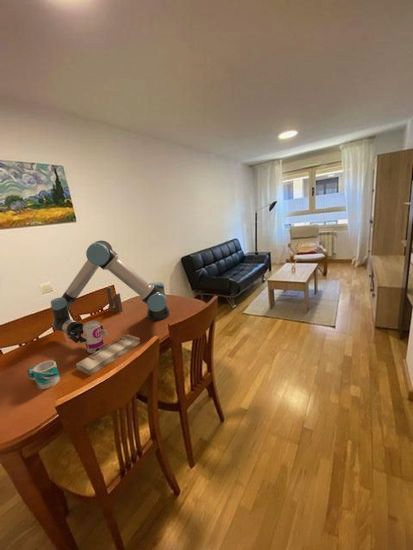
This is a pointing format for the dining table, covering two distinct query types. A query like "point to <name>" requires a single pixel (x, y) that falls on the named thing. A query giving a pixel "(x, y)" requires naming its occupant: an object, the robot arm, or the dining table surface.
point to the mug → (44, 374)
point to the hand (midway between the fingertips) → (98, 337)
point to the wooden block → (114, 301)
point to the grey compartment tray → (107, 354)
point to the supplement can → (93, 336)
